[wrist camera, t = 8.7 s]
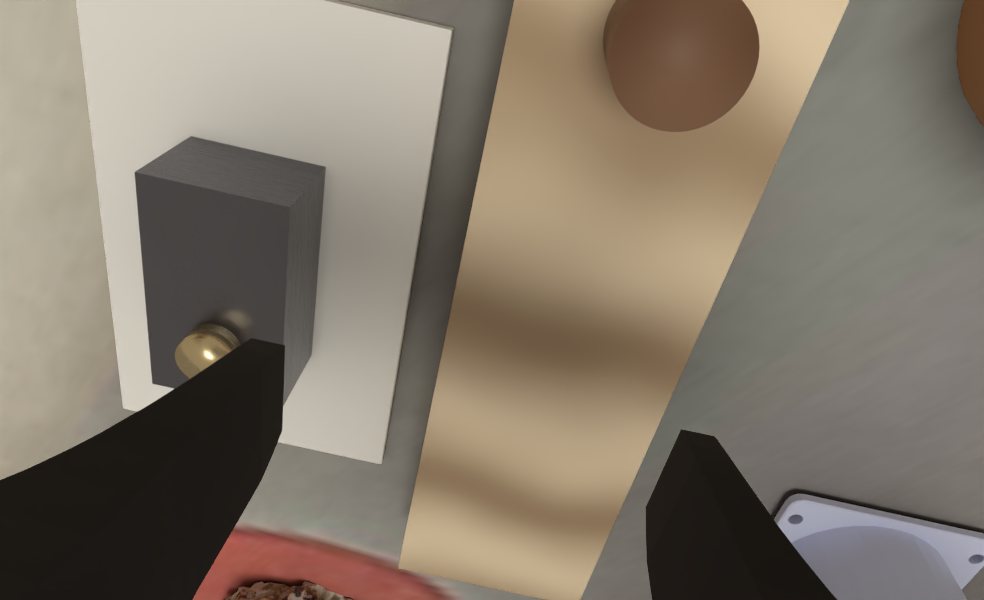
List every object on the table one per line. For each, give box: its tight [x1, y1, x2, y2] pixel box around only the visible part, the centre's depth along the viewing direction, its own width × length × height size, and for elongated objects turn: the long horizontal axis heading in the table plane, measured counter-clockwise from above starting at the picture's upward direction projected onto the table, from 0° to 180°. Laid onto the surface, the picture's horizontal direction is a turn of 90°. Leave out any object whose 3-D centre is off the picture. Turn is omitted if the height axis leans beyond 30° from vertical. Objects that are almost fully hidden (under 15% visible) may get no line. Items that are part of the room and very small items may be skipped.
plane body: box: [398, 0, 849, 600], centre depth 20 cm, size 22×7×5 cm, turn 168°
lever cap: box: [135, 136, 326, 406], centre depth 20 cm, size 7×4×4 cm, turn 168°
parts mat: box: [76, 0, 454, 464], centre depth 22 cm, size 16×10×1 cm, turn 168°
